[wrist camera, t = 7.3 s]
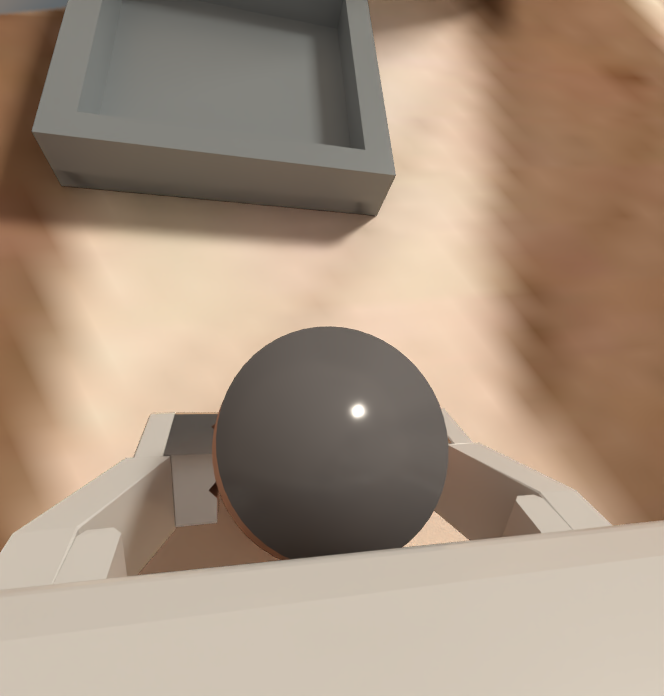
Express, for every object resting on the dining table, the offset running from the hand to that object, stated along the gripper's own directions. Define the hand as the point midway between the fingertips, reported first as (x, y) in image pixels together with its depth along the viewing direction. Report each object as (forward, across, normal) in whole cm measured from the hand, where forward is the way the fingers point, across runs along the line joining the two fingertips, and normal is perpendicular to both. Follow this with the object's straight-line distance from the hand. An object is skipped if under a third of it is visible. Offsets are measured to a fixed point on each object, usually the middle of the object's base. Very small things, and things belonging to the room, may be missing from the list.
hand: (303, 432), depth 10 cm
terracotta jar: (+3, 0, +4) cm, 4 cm away
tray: (+15, +2, -9) cm, 18 cm away
